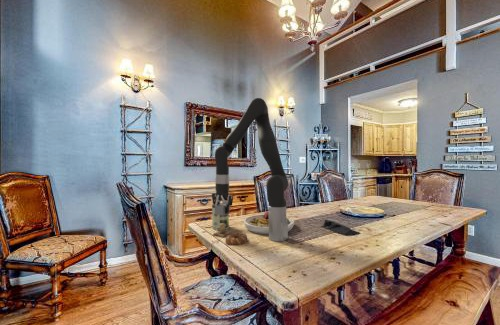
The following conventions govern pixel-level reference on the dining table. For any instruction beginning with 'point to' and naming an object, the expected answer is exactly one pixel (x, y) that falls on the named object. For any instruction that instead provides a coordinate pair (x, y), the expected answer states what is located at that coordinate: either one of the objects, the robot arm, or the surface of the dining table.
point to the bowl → (262, 223)
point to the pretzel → (236, 239)
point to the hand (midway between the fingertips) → (222, 212)
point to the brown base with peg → (222, 231)
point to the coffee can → (219, 219)
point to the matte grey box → (220, 209)
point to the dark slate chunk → (339, 228)
